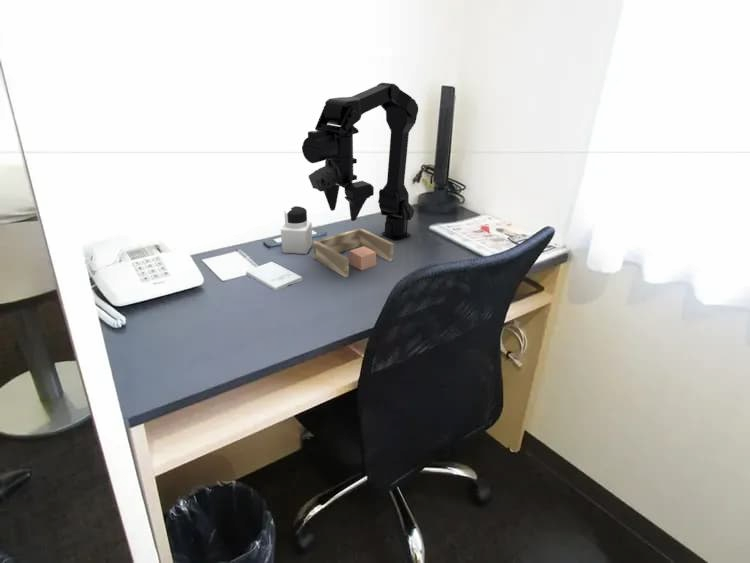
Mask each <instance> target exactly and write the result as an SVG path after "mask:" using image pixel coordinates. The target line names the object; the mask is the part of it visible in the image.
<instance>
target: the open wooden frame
mask: <svg viewBox="0 0 750 563" xmlns="http://www.w3.org/2000/svg"><path fill="white" fill-rule="evenodd" d="M363 246H365V247H367V248H369V249H371V250H373V251H375V252H376V256H378V257H380V258H382V259H384V260H385V261H387V262H392V261H394V243H393V242H391V241H390V240H387V239H385V238H382V237H381V236H379V235H377V234H374V233H372V232H370V231H368V230H367V229H364V228H361V227H359V228H356V229H352V230H349V231H346V232H342V233H338V234H336V235H331V236H328V237H324V238H322V239H318V240H314V241H312V248H313V250H312V251H313V259H314V260H315V261H317V262H319V263H320V264H321V265H324V266H325V267H327V268H329V269H331V270H332V271H334V272H335V273H338V274H339V275H340V276H342V277H343V278H347V277H349V274H350V272H349V271H350V270H349V269H350V268H349V266H350V264H349V257H347V256H345V255H343V254H341V253H343V252H346V251H350V250H354V249H357V248H360V247H363Z"/></svg>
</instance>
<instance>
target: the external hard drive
mask: <svg viewBox="0 0 750 563" xmlns="http://www.w3.org/2000/svg"><path fill="white" fill-rule="evenodd" d="M246 276H248V277H250V278H252V279H254V280H255V281H258V282H259V283H261V284H263V285H264V286H266V287H267V288H270V290H273V291H275V292H277V291H280V290H282V289H285V288H287V287H288V286H290V285H295V284H297V283H298V282H301V281H303V276H301V275H299V274H297V273H295V272H293V271H291V270H289V269H287V268H285V267H283V266H282V265H280V264H277V263H275V262H273V261H269V262H267V263H264V264H262V265H258V266H257V267H253V268H250V269H247V270H246Z"/></svg>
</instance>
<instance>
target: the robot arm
mask: <svg viewBox="0 0 750 563" xmlns="http://www.w3.org/2000/svg"><path fill="white" fill-rule="evenodd" d="M378 107H381V108H382V109H383V110H384V111H385V120H386V123H387V125H388V128H389V130H390V139H389V140H390V141H389V152H388V164H387V165H388V166H387V176H386V177H387V178H386V183H385V185H384V187H383V188H380V189H379V191H378V201H377V203H378V206H379V210H380V213H381V216H385V222H384V231H383V232H381V235H382V236H385V237H387V238H389V239H392V240H393V241H398V240H401V239H405V238H408V237H410V236H411V233H409V232H408V224H409V222H408V221H411V220H412V219H413V217H414V214H415V210H414V208H413V207H412V205H411V203H410V202H409V201H410V200H409V192H408V189H407V188H406V185H405V177H406V170H407V169H406V167H407V166H406V165H407V156H408V147H409V146H408V145H409V135H410V134H409V133H410V132H411V130H412V129H413V127H414V126H415V124H416V122H417V116H418V113H419V104H418V103H417V101H416V100H415V99H414V98H413V97H412V96H411V95H409V94H408V93H406V92H405V91H403V90H402V89H400V87H399V86H398V85H396V84H395V83H389V82H380V83H378V84H377V85H375V86H373V87H370V88H368V89H367V90H364V91H361V92H359V93H357V94H354V95H352V96H346V97H345V96H342V97H333V98H328V99H326V101H325V103H324V106H323V109H322V111H321V113H320V115H319V119H318V121H317V123H316V125H315V127H314V128H315V130H310V131H307V137H306V138H305V139H304V141H303V142H302V146H301V149H302V151H301V152H302V154H303V157H304V158H305V160H307V162H308V163H310V164H316V163H320V162H323V161H324V162H325V163H324V166H322V167H320V168H318V169H316V170H314V171H313V172H311V173H310V174H308V179H309V182H310V184H311V187H312V189H315V190H318V191H319V192H323V194H324V195H325V196H324V197H325V199H326V201H327V205H328V207H329V210H330V211H333V212H334V211H335V210H336V206H337V202H338V198H339V197H338V195H339V190H340V187H342V188H344V194H345V196H344V199H345V200H346V201H347V202H348V205H349V214H350V220H351V222H355V221H356V220H357V218H358V216H359V214H360V212H361V210H362V208H363V206H364V205H365V203H366V201H367V200H368V199H370V198H371V197H373V196H374V195H375V194H374V193H375V192H374V190H375V187H374V186H373V184H372V183H369V182H366V181H364V180H359V181H356V180H358V176H357V174H354V164H357V163H358V162H357V161H358V160H357V158H355V157H354V135H355V134H359V129H358V128H357V127H356V126H355V125H356V124H357V123H358V122H359V121H360V120H361V118H362V116H363V115H364V114H365V113H367V112H370V111H371V110H374V109H376V108H378ZM353 181H355V182H353Z"/></svg>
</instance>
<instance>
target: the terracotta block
mask: <svg viewBox="0 0 750 563" xmlns="http://www.w3.org/2000/svg"><path fill="white" fill-rule="evenodd" d="M348 252H349V257H348V258H349V266H350V265H351V266H353V267H354V268H356V269H358V270H359V271H365V270H367V269H369V268H372V267H375V266H376V265H377V255H376V252H375V251H373V250H371V249H369V248H367V247H365V246H363V247H360V246H359V247H356V248H353V249H349V250H348Z"/></svg>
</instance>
